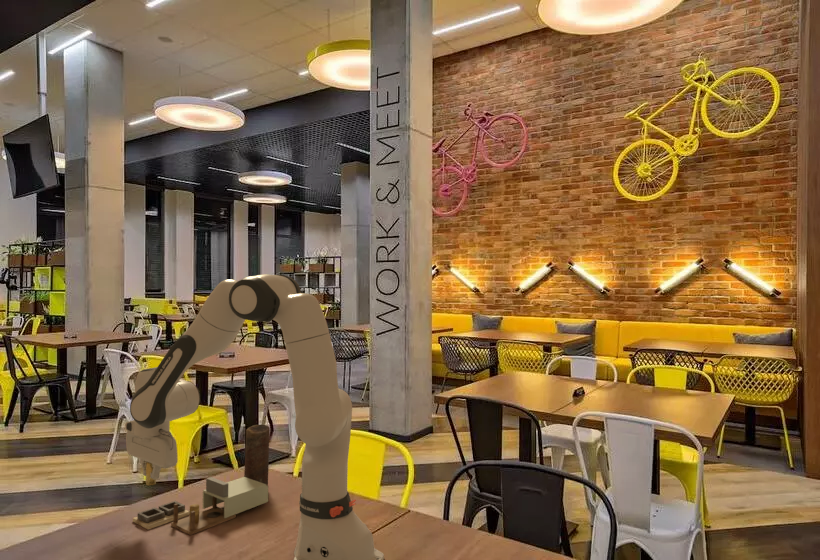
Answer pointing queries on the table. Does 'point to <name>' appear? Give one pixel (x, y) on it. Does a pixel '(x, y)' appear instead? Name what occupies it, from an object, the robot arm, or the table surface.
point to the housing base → (199, 518)
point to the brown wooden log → (257, 453)
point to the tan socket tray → (160, 515)
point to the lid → (235, 494)
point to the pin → (148, 470)
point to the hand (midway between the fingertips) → (151, 477)
